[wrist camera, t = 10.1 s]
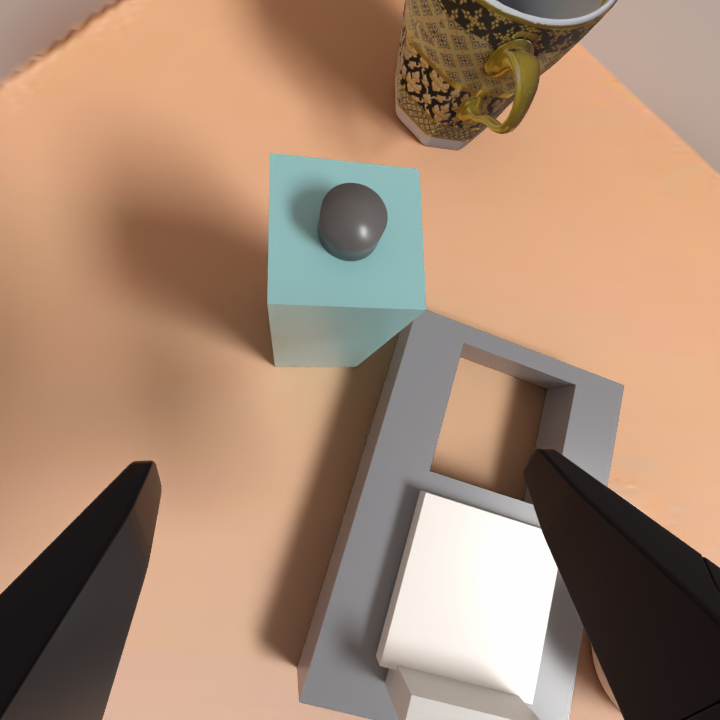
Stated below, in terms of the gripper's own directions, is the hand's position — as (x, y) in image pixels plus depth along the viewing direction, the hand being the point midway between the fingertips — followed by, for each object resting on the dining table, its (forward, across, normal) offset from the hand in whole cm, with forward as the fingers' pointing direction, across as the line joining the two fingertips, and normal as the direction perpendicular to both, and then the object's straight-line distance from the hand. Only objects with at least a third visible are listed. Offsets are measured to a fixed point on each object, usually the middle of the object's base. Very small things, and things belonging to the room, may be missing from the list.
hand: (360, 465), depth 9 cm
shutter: (+2, -7, +12) cm, 14 cm away
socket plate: (+6, -8, +11) cm, 16 cm away
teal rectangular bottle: (+13, 0, +4) cm, 14 cm away
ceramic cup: (+24, -8, -5) cm, 26 cm away
